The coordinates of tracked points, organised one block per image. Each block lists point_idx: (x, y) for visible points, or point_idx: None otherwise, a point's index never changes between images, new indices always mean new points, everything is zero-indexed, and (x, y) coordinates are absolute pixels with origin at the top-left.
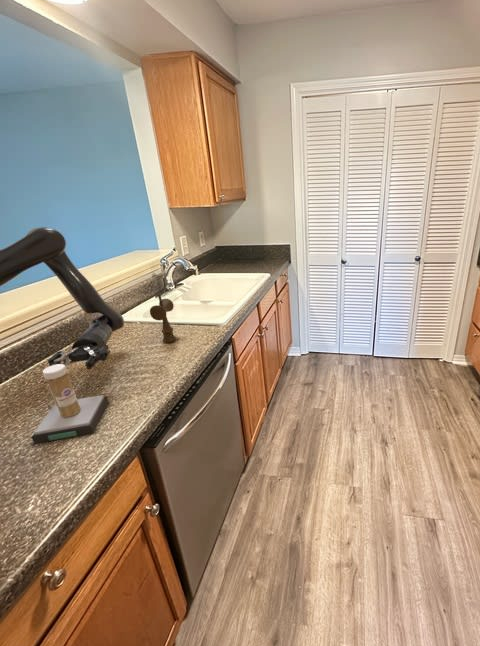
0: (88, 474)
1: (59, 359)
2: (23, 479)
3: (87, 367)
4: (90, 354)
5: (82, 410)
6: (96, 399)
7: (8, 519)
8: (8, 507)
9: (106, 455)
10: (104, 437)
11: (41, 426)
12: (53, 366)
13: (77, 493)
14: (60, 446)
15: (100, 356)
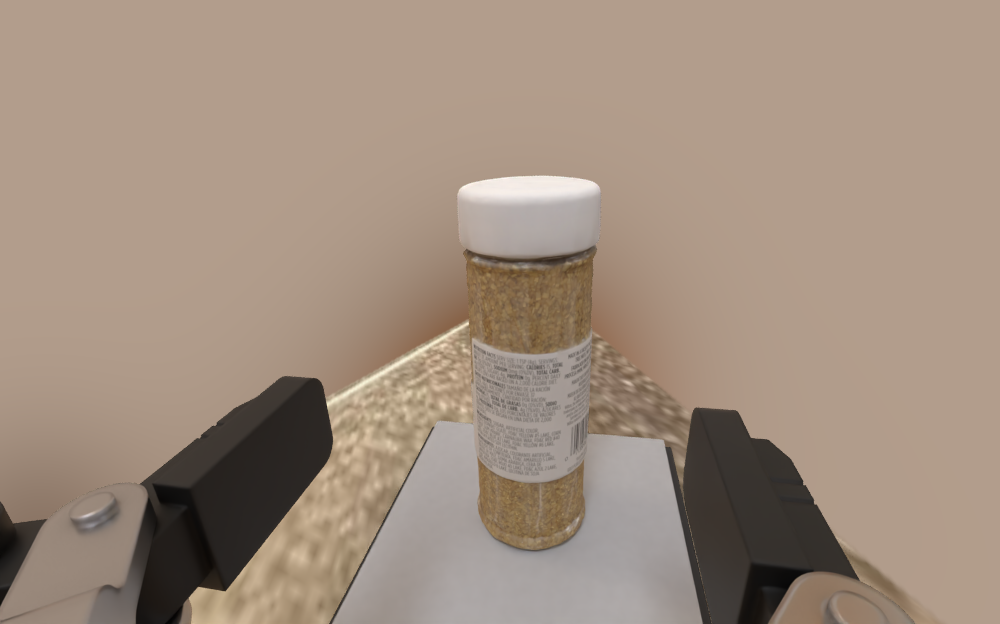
0: (447, 350)
1: (781, 616)
2: (605, 373)
3: (320, 421)
4: (121, 562)
5: (469, 506)
6: (384, 590)
7: None
8: (596, 336)
9: (403, 375)
10: (399, 428)
11: (648, 461)
12: (538, 186)
13: (466, 328)
14: None
15: (38, 529)
